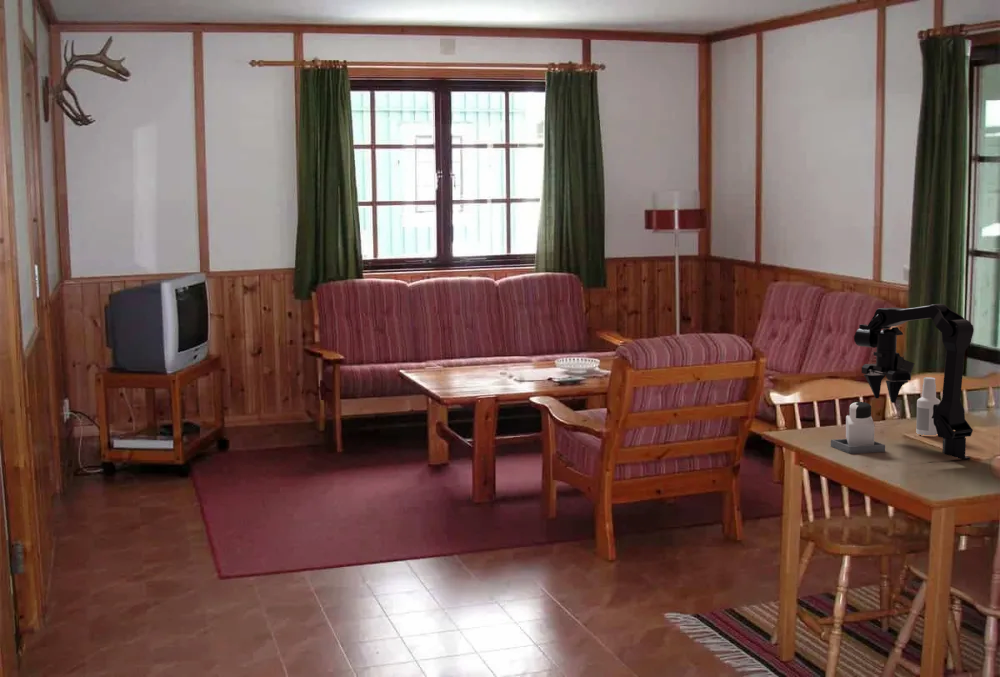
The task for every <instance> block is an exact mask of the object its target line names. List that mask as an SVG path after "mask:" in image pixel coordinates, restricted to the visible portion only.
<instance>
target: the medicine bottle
mask: <svg viewBox="0 0 1000 677" xmlns="http://www.w3.org/2000/svg"><path fill="white" fill-rule="evenodd" d="M845 439H847V442H848V445H849V446H867V445H874V441H875V423H874V420H873V417H872V405H871V404H870V403H868V402H865V401H856V402H852V403H851V404H850V405H849V414H847V415H846V416H845Z"/></svg>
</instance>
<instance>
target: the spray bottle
mask: <svg viewBox="0 0 1000 677" xmlns="http://www.w3.org/2000/svg"><path fill="white" fill-rule="evenodd" d="M940 402H941V400H940V399H939V398H938V397H937V384H936V377H929V376H928V377H927V376H926V377H923V383H922V392H921V397H919V398H918V399H917V400H916V423H915V424H916V426H915V428H916V430H915V431H916V432H915V433H917V434H921V435H923V434H924V435H936V434H937V430H936V427H935V426H934V423H933V419H934V418H933V419H932V416H933V406H934V405H935V404H939V403H940ZM917 434H916V435H917Z"/></svg>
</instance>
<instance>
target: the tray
mask: <svg viewBox="0 0 1000 677" xmlns="http://www.w3.org/2000/svg"><path fill="white" fill-rule="evenodd" d="M830 448H834V449H836V450H838V451H842V452H844V453H847V454H869V453H872V454H873V453H885V452H886V444H883V443H882V442H878V441H876V440H874V445H867V446H849V445H848V442H847V439H846V438H842V439H841V438H837V439H830Z"/></svg>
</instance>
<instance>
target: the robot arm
mask: <svg viewBox="0 0 1000 677" xmlns="http://www.w3.org/2000/svg"><path fill="white" fill-rule="evenodd" d="M926 319H931V320H932V321H933V323H934V326H935V328H937V330H938V331H940V333H941V341H942V343H943V346H944V348H945V350H946V352H945V360H944V361H945V362H944V373H943V384H942V395H941V400H940V401H941V402H940V403H939V404H935V405H934V406H933V416H932V419H933V418H934V419H933V423H934V426H935V427H936V430H937V434H938V438H941V439H942V452H941V453H943V454H944V455H946V456H947V455H948V456H951V457H954V458H957V459H958V460H970V459H971V457H969V456H967V455H966V450H967V449H966V446H967V443H966V442H967V438H966V437H971V436H972V434H973V431H974V430H973V428H972V427H971V426H970V424H969V422H967V420H966V417H965V415H966V414H965V412H966V411H965V408H964V406H963V404H962V402H961V396H962V395H961V394H962V385H963V375H964V374H963V373H964V365H965V364H964V363H965V353H966V350H967V349H968V347H969V346H970V344H971V342H972V339H973V335H974V332H975V331H974V330H975V328H974V325H973V324H972V322H971V321H970V320H969V319H968V320H967V319H965V318H964V317H963V315H961V314H959V313H957V312H956V311H954V310H952V309H950V307H948V306H947V305H946V304H944V303H935V304H930V305H924V306H917V307H910V308H902V307H881V308H877V309H876V310H875V312H874V315H873V316H872V318H871V320H870V321H869V322H868V324H865V323H862V324H859V326H858V329H857V330H856V331H855V332H854V333H855V334H854V335H853V339H854V343H855V344H856V346H858V347H865V348H873V349H874V348H875V349H876V351H873V356H875V357H876V360H875V363H865V364H863V365H862V366H861V374H863V377H864V378H865V379H866V381H867V383H868V385H869V387H870V389H871V392H872V393H873V396H874V398H875V399H879V398H880V396H881V395H880V394H881V387H882V380H883V379H884V378H885V377H886V380H885V383H886V387H887V391H888V395H889V399H890V402H891V404H895V403H896V401H897V399H898V396H899V393H900V390H901V388H902V387H903V386H904V385H905V384H907V383H908V382H909V381H911V380H912V372H913V370H914V367H915V363H914V362H911V361H909V360H906V359H904V356H901V354H900V352H897V339H898V338H897V336H903V335H904V332H903V331H901V330H900V328H899V327H898V326H900V325H904V324H905V323H906V322H910V321H917V320H926Z"/></svg>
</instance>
